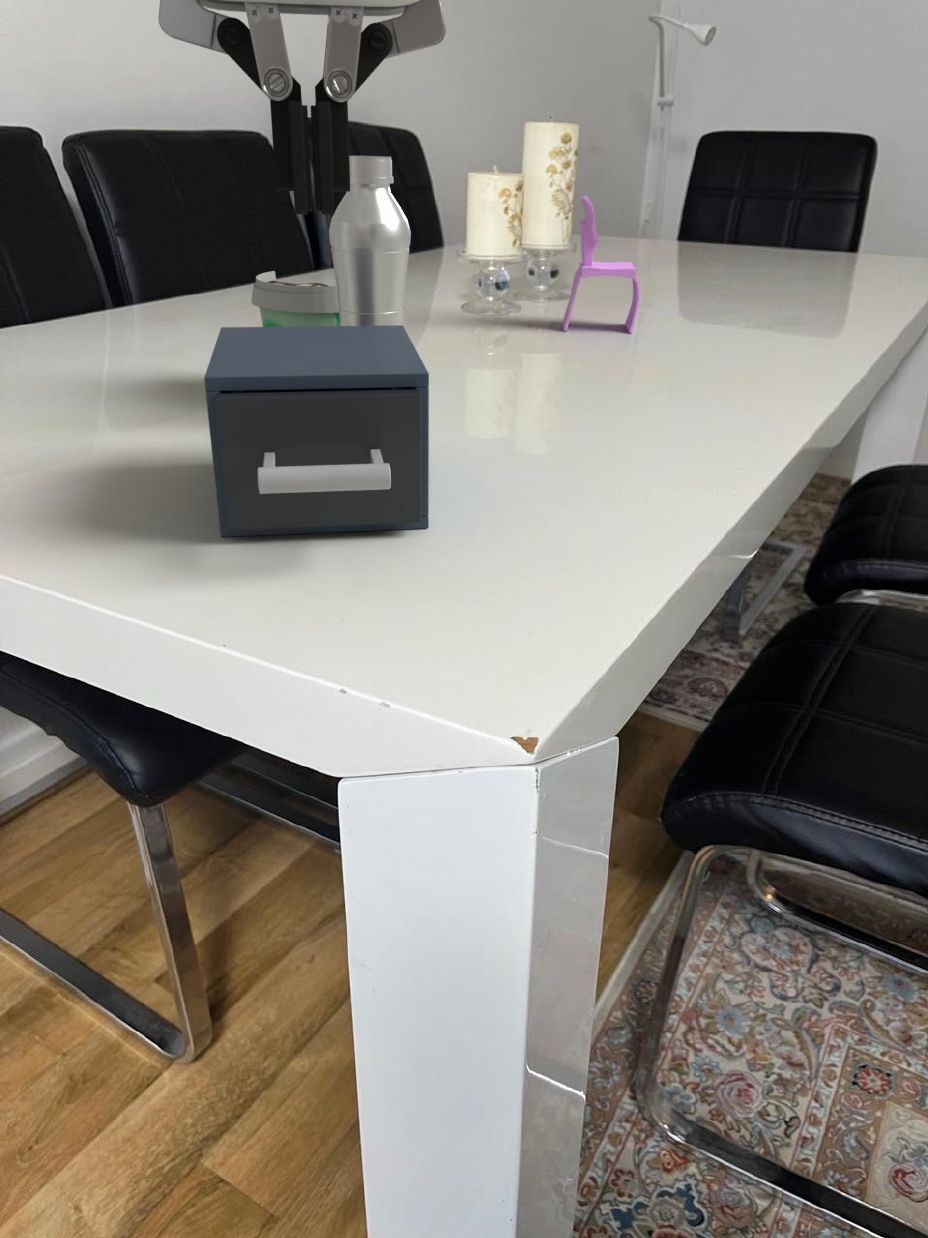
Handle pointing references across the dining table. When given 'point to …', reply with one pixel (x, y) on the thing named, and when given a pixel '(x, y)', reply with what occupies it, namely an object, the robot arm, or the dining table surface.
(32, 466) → the dining table surface
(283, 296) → the food container
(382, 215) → the silver tall bottle
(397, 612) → the dining table surface
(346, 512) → the dark grey drawer
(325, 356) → the drawer cabinet
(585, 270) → the toy chair
